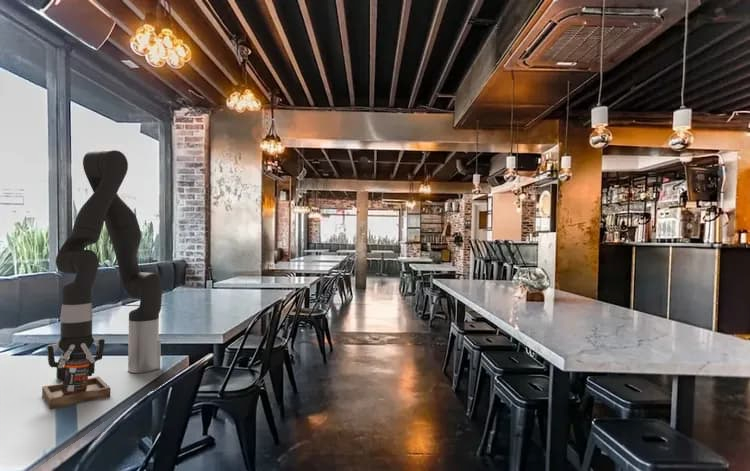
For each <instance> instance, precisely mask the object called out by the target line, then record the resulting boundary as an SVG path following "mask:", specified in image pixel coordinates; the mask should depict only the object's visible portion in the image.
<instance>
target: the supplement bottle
mask: <svg viewBox="0 0 750 471" xmlns="http://www.w3.org/2000/svg"><path fill="white" fill-rule="evenodd" d="M88 371H89V360H88V359H87V357H86V354H85V353H84V352H82V353H72V354H71V356H69V358H68V359H67V361H66V362H65V365H64V381H63V384H62V393H63V394H67V395H71V394H76V393H81V392H85V391H86V390H87V381H88V378H89V376H88Z"/></svg>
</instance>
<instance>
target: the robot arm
mask: <svg viewBox="0 0 750 471" xmlns="http://www.w3.org/2000/svg"><path fill="white" fill-rule="evenodd" d="M82 159H83V160H82V166H83V171H84V174H85V176H86V179H87V182H88V183H89V185H90V187H91V190H92V192H93V193H92V195H91V196H89V198H88V199H87V200H86V201H85V203H84V204H83V205H81V208H80V209H79V211H78V213H77V215H76V218H75V220H74V224H73V227H72V229H71V230H72V231H71V233H70V234H69V236H68V237H67V238H66V240H65V241H64V243H63V244H62V245H61V247H60V249H58V250H59V251H58V253H57V254H56V257H55V266H56V269H57V270H58V271H59V273H61V274H65V275H75V278H74V280H73V281H72V282H68V283H66V284H64V285H63V287H62V290H61V309H60V310H61V311H60V333H59V334H60V337H59V341H58V343H54V344H47V345H46V347H45V348H46V355H47V361H48V366H50V367H51V368H56V376H57V378H58V380H57V381H59V382H61V381H64V367H63V366H64V364H65V362H66V361H67V360H68V359H69V358H70V357H69V356H71V354H72V353H82V352H84V353H85V354H86V358H87V359H88V360H89V371H88V377H92V376H93V374H94V373H95V370H96V369H95V364H96V362H97V361H100V360H102V359H103V353H104V347H105V339H104V338H102V337H99V338H94V336H93V317H94V315H93V306H92V305H93V304H92V295H93V294H92V289H93V285H94V283H95V280H96V276H97V273H98V270H99V267H100V266H99V265H100V261H99V260H100V259H99V257H98V255H97V253H96V252H95V251H93V250H90V249H86V247H89V246H92V245H94V244H96V243H98V241H99V240H100V237H101V234H102V231H103V227H104V225H105V228H106V230H107V235H108V236H109V240H110V242H111V245H112V247H113V248H112V249H113V251H114V255H115V259H116V261H117V265H118V266H117V267H118V270H119V275H120V280H121V284H122V285H121V286H122V288H123V293H124V294H125V295H126V296H127V297H128V298H129V299H134V300H140V301H139V305H138V307H136V309H133V310H130V311H129V313H128V350H127V351H128V353H127V355H128V356H127V357H128V358H127V360H128V361H127V362H128V363H127V364H128V365H127V368H128V369H127V370H128V373H133V374H136V373H137V374H141V373H147V372H148V373H149V372H152V371H155V370H158V369H161V354H162V353H161V350H162V349H161V343H162V341H161V340H160V339H159V337H160V335H159V334H160V332H159V331H160V330H159V329H160V321H159V320H160V312H161V309H162V304H163V303H162V300H163V299H162V298H163V281H162V277H161V276H160V275H159V274H158V273H155V272H142V271H141V269H140V265H139V263H138V252H139V248H140V244H141V242H142V230H141V228H140V224H139V221H138V218H137V215H136V214H135V213H134V211H133V210H132V209H131V208H130V207H129V206H128V205H127V204H126V202H125V201H124V200H123V199H122V198H121V197H120V195H118V192H119V189H120V187H121V185H122V183H123V182H124V179H125V177H126V175H127V172H128V168H129V162H128V159H127V157H126V155H125V153H123V152H121V150H116V149H106V150H105V149H104V150H93V151H88V152H86V153H85V154H84V156H83V158H82ZM93 344H94V346H96V351H95V355H94V356H93V354H92V352H91V351H90V348H91V346H92V345H93ZM58 348H59V349H61V351H62V353H61V354H60V357H59V359H58V361H55V360H56V359H55V353H56V352H57V350H58Z"/></svg>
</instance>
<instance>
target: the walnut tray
mask: <svg viewBox="0 0 750 471" xmlns="http://www.w3.org/2000/svg"><path fill="white" fill-rule="evenodd" d="M62 384H63V383H61V382H60V383H55V384H50V385H44V386H42V389H41V392H42V393H41V395H42V398H43V399H44V401H45V403H46V405H47V406H48V408H49V410H52V409H56V408H58V409H59V408H62V407H67V406H72V405H77V404H81V403H85V402H90V401H91V402H92V401H95V400H99V399H106V398H110V397H111V387H110V385H108V384H107V383H106V382H105V381H104V380H103V379H102V378H101V377H100V376H93V377H88V381H87V390H86V391H85V392H81V393H76V394H71V395H67V394H63V393H62Z"/></svg>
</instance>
